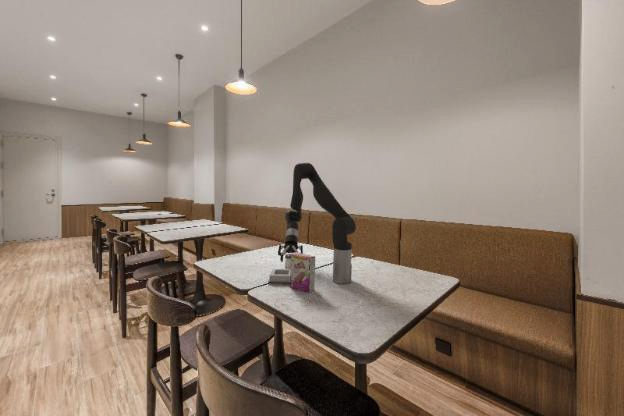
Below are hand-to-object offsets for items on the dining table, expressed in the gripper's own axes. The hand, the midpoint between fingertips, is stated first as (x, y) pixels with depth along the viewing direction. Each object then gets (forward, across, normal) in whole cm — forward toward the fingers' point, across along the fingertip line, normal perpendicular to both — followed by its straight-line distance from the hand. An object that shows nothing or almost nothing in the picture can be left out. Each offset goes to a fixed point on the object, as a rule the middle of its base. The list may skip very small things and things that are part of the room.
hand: (289, 261), depth 151 cm
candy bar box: (+21, +8, -12) cm, 25 cm away
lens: (+5, 0, +4) cm, 6 cm away
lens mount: (+13, -3, -4) cm, 14 cm away
